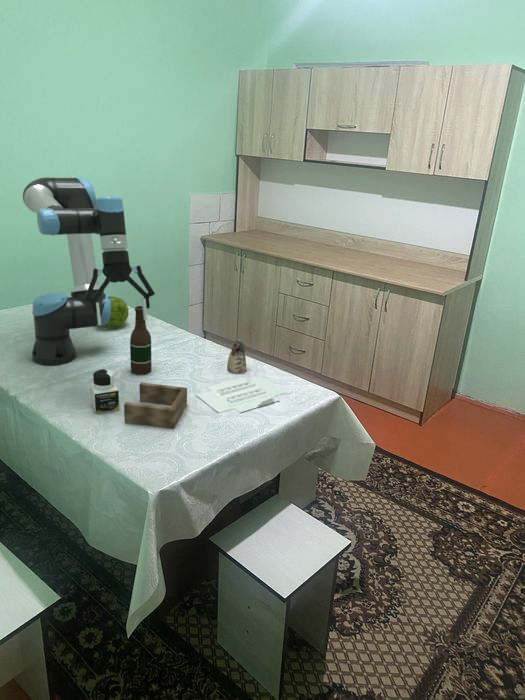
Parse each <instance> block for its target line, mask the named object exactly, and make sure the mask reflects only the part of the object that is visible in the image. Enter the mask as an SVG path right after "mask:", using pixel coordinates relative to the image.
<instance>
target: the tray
mask: <svg viewBox="0 0 525 700" xmlns="http://www.w3.org/2000/svg"><path fill="white" fill-rule="evenodd" d="M206 389H207V390H209V391H207V392H204V393H200V394H196V395H195V396H196V397H198V398H199V399H200V400H201V401H203V402H204V403H206V404H207V405H208V406H209V407H211V408H212V409H214V411H216V412H218V414H222V413H225V412H228V411H231V410H236V411H237V412H238V413H239V414H242V412H247V411H250V410H252V409H255V408H259V407H262V406H266V405H269V404H273V403H276V402H280V400H279V399H277V398H276V397H279V396H282V395H285V394H287V393H288V392H287V391H285V390H284V389H282V388H281V387H279V386H277V385H276V384H274V383H273V382H271V381H269V380H267V379H266V378H265V377H260V378H255V379H253V380H248V379H246V377H241V378H236V379H232V380H229V381H228V380H227V381H224V382H220V383H216V384H213V385H209V386H206Z"/></svg>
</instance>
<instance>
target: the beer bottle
mask: <svg viewBox="0 0 525 700" xmlns="http://www.w3.org/2000/svg"><path fill="white" fill-rule="evenodd" d="M134 312H135V316H134V317H135V318H134V319H135V324H134V329H133V330H132V331H131V333H130V339H129V341H130V342H129V350H130V351H129V353H130V355H129V356H130V372H131V373H132V374H134V375H136V376H142V375H143V376H146V375H149V374H150V373H151V372H152V368H153V367H152V335H151V334H150V331H149V330H148V328H147V324H146V320H144V316H143V307H142V305H137V306H135V307H134Z"/></svg>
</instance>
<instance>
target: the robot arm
mask: <svg viewBox="0 0 525 700" xmlns="http://www.w3.org/2000/svg"><path fill="white" fill-rule="evenodd" d="M22 200H23V203H24V205H25V206H26V208H28V210H29V211H32V212H33V213H35V214H36V219H37V226H38V230H39V233H41V235H45V236H46V235H47V236H59V235H66V240H67V244H68V245H67V246H68V252H69V253H68V254H69V259H70V266H71V273H72V280H73V286H74V287H73V289H71V291H70V295H71V296H68V295H67V294H66V293H63V292H49V293H46V294H41V295H40V296H38V297H36V298H35V299H34V300H33V302H32V317H33V324H34V326H33V327H34V336H35V340H34V344H33V347H32V351H31V357H32V361H33V362H34V363H36V364H38V365H43V366H58V365H63V364H66V363H70V362H72V361H73V360H75V359H76V358H77V349H76V347H75V345H74V343H73V340H72V338H71V335H70V330H75V329H85V328H91V327H93V328H94V327H95V328H97V327H99V326H104V325H105V324H107V323H108V321H109V319H110V314H111V301H110V295H109V294H108V293H106V292H104V291H105V290H106V288H107V287H108V285H109V284H110V283H112V284H113V283H115V284H116V283H124V282H128V283H129V284H130V285H131V286H132V287H133V288H134V289H135V290H136V291H137V292H138V293H140V295H141V296H142V297H143V298H142V297H141V306H142V307H143V316H144V320H145V321H148V319H149V318H148V309H150V308H151V305H150V297H152V296H155V291H154V289H153V288H152V286H151V285H150V283H149V282H148V280H147V278H146V277H145V275H144V274H143V270H142V268H141V266H140V265H136V266H132V267H131V265H130V257H129V251H128V250H127V249H128V248H129V247H128V241H127V239H128V238H127V230H126V222H125V221H126V220H125V212H124V211H125V208H124V204H123V203H124V202H123V199H122V198H121V197H120V196H116V195H104V196H98V197H97V196H96V192H95V188H94V186H93V184H92V183H91V181H90V180H88V179H87V178H82V177H81V178H80V177H49V176H48V177H46V176H45V177H40V178H37V179H33V181H31V182H29V183H28V184H27V185H26V186H25V187H24V189H23V192H22ZM92 234H95V235H99V241H100V249H101V251H103V252H102V253H101V258H102V264H103V267H102V269H101V268H97V264H96V257H95V250H94V244H93V243H94V242H93V238H92V237H93V236H92ZM132 272H133V273H134V274H136V275H137V276H138V278H139V280H140V281H141V283H142V284H143V286H144V288H145V289H146V291H147V292H146V291H145V290H144V289H143V288H142V287H141V286H140V285H139V284H138V283H137V282H136V281H135V280H134V278H133V277H131V276H130V275H131V273H132ZM101 274H103V275H104V276H105V279H104V281H103V282H102V284H101V285H100V284H99V279H98V277H100V276H101Z"/></svg>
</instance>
